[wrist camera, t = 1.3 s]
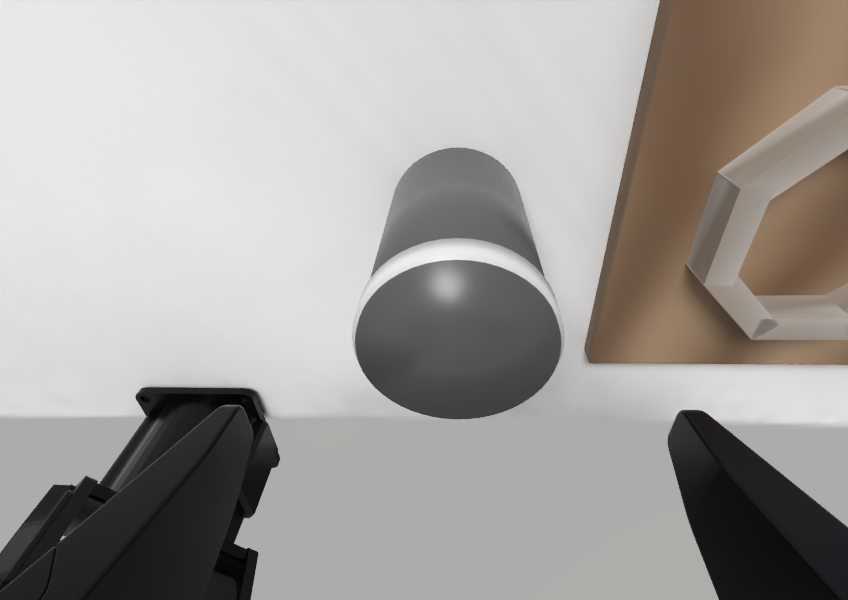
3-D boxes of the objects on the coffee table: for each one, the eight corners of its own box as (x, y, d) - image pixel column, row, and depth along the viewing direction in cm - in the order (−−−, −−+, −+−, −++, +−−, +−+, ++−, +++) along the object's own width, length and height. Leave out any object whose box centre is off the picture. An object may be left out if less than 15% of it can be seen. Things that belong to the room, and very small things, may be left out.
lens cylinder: (395, 269, 19) (364, 420, 13) (383, 147, 16) (334, 261, 10) (518, 268, 19) (551, 423, 12) (529, 142, 16) (581, 258, 9)
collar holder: (584, 348, 21) (598, 387, 19) (663, -16, 13) (703, -15, 11) (904, 349, 20) (954, 391, 18) (1210, -46, 12) (1365, -50, 10)
